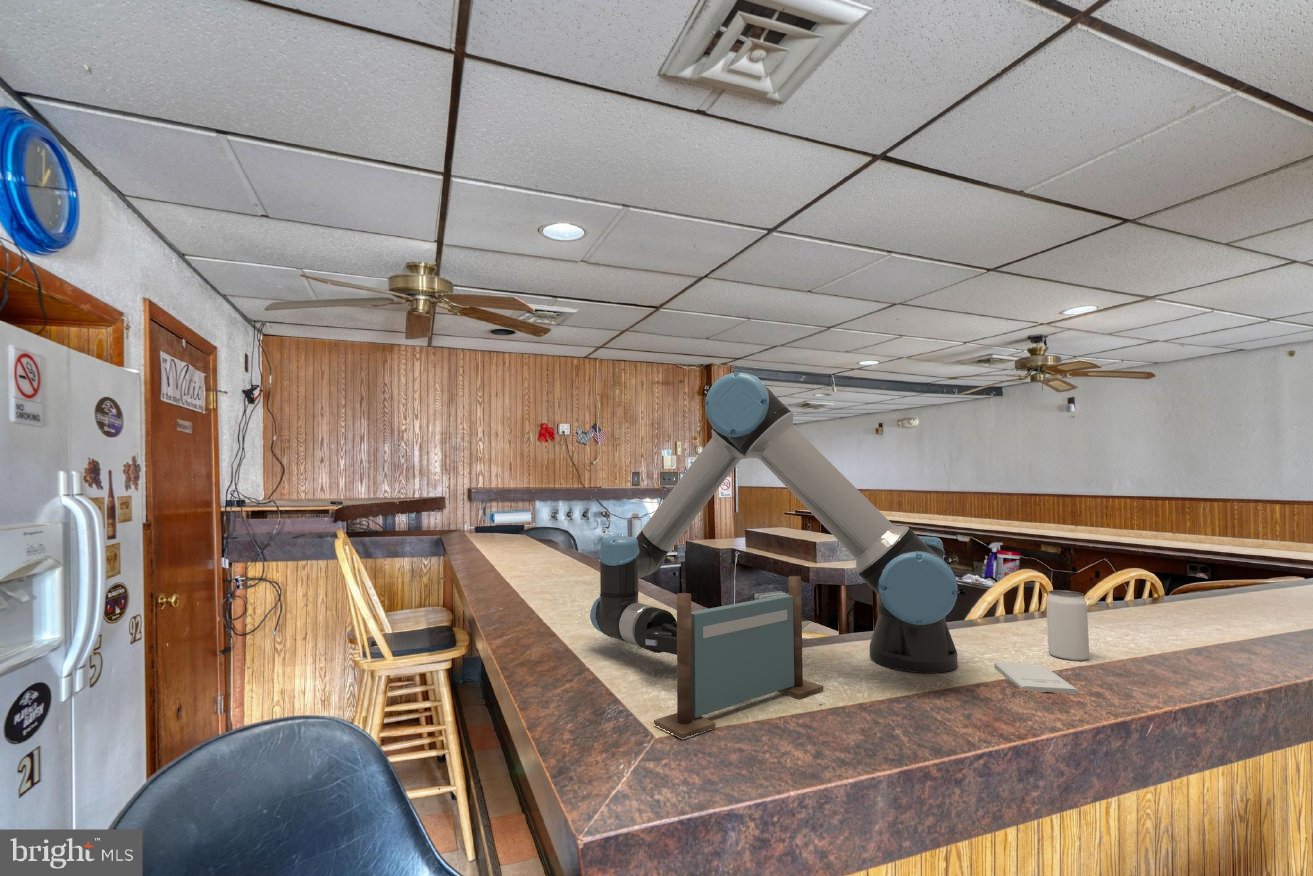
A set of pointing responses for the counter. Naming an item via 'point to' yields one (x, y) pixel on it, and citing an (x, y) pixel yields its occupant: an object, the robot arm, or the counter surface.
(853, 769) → the counter surface
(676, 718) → the gate frame
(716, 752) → the counter surface
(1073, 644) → the can
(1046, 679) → the external hard drive
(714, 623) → the gate door
